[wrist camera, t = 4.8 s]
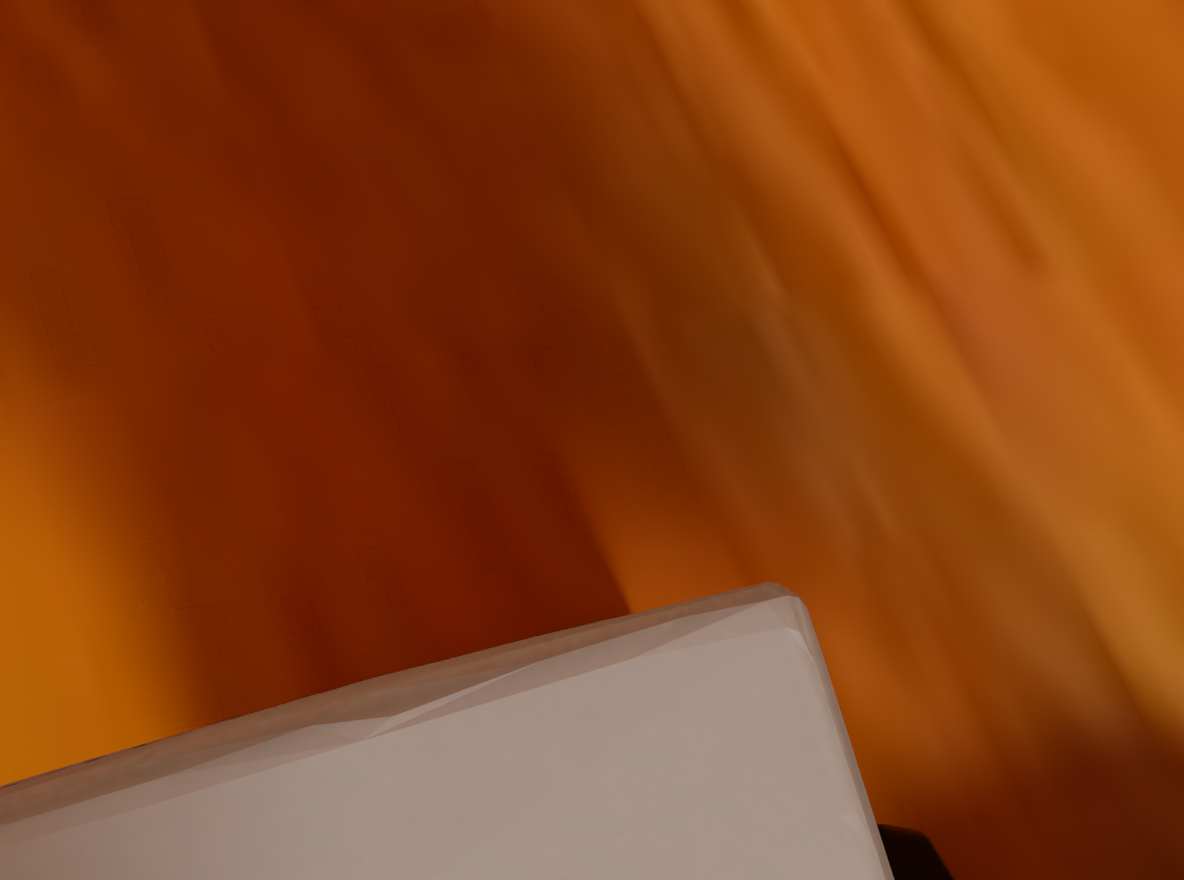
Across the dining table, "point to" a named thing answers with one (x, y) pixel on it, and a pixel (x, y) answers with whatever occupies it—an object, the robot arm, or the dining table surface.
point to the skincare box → (496, 769)
